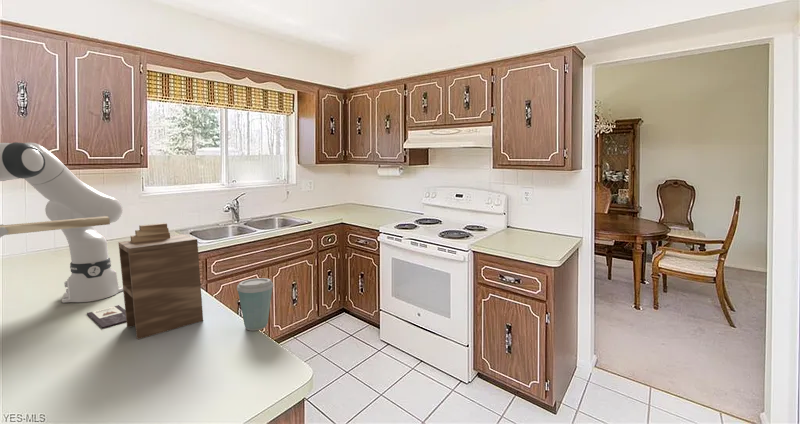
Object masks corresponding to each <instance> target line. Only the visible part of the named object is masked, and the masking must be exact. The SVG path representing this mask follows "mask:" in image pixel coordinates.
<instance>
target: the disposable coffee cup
mask: <svg viewBox="0 0 800 424" xmlns="http://www.w3.org/2000/svg"><path fill="white" fill-rule="evenodd" d="M273 288H274V283H273V282H272V279H270V278H267V277H266V278H265V277H261V278H260V277H259V278H249V279H246V280H245V279H244V280H242V281H240V282H239V283H238V284H237V285H236V290H237V294H238V297H239V298H238V300H239V302H240V303H239V304H240V310H241V314H242V319H243V320H242V321H243V324H244V328H245V329H246V330H247V331H251V332H252V331H260V330H263V329H265V328H266V327H267V326H268V323H269V316H270V310H271V309H270V308H271V302H272V294H273ZM256 329H257V330H256Z"/></svg>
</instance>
